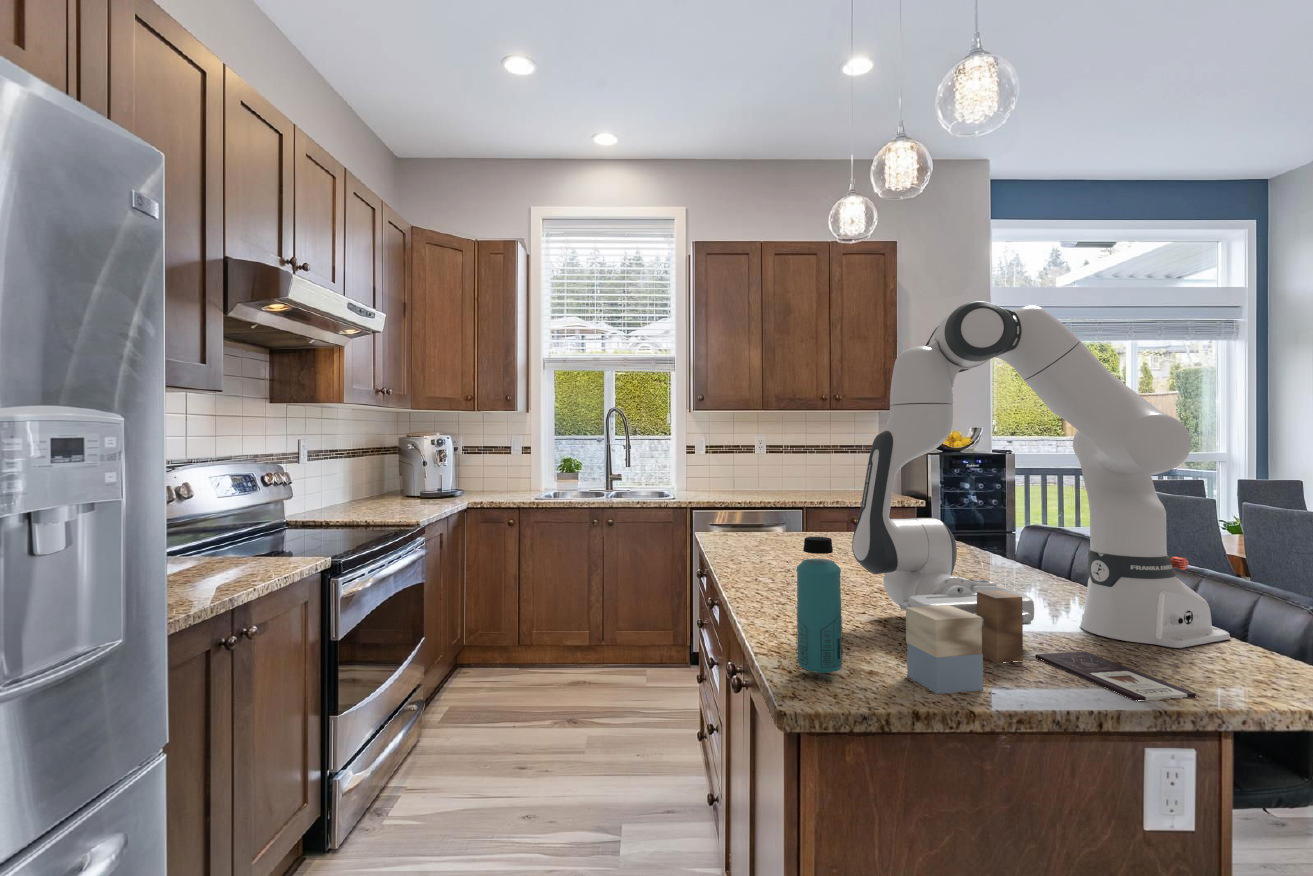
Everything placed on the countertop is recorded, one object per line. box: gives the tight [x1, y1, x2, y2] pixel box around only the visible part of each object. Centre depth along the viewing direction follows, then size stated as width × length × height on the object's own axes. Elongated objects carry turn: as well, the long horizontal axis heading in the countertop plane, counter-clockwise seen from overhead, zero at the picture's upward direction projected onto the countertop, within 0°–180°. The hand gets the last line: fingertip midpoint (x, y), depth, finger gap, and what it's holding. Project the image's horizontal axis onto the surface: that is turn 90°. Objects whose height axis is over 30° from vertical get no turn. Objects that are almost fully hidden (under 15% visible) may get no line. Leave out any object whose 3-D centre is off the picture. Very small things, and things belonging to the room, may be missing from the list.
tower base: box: [906, 642, 984, 695], centre depth 93 cm, size 7×7×5 cm
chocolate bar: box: [1034, 651, 1197, 701], centre depth 95 cm, size 9×1×18 cm
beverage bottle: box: [795, 536, 844, 674], centre depth 96 cm, size 6×7×20 cm
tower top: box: [905, 605, 982, 657], centre depth 93 cm, size 7×7×5 cm
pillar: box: [977, 591, 1024, 665], centre depth 103 cm, size 4×4×10 cm
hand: (1003, 621), depth 102 cm, fingers open, 7 cm apart
